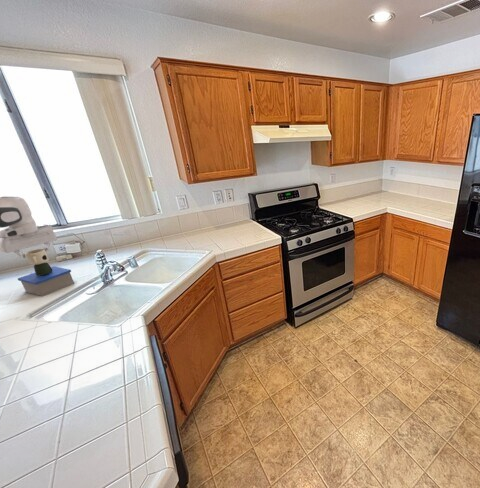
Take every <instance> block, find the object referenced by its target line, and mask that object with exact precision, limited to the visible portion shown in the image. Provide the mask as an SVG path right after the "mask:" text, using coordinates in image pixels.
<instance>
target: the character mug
mask: <svg viewBox="0 0 480 488" xmlns="http://www.w3.org/2000/svg"><path fill="white" fill-rule="evenodd" d="M24 254H25V256H26V257H25V258H26V259H27V261H28V264H29V265H31V266H33V270H34V273H36V275H45V274H49V273H51V272H52V271H53V270H52V268H51V267H52V266H51V265H50V264H49V263H48V262H49V261H50V258H49V256H48V254H47V252H46V251H45V249H43V248H37V249H33V250H32V249H31V250H28V251H26V252H25V253H24Z"/></svg>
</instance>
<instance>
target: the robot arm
mask: <svg viewBox="0 0 480 488" xmlns="http://www.w3.org/2000/svg"><path fill="white" fill-rule="evenodd" d="M2 228H3V229H2ZM0 229H2V230H0V251H1V252H3V253H6V254H7V253H8V254H9V253H13V254H15V255H17V256H19V259H25V258H27V257H26V255H25V253H21V251H22V250H24V249H28V248H33V247H36V246H40V245H43V244H44V247H43V248H42V249H45V251H46V253H47V252H49V251H50V245H51V242H55V241H57V239H58V237H57V235H56V233H55V232H54V228H53V226H52V225H51V224H48V223H47V224H46V223H45V224H41V225H37V223H36V221H35V219H34V218H33V215H32V210H31V209H30V206H29V203H27V201H26V199H24V197H22V196H1V197H0Z"/></svg>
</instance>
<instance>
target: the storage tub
mask: <svg viewBox="0 0 480 488" xmlns="http://www.w3.org/2000/svg"><path fill="white" fill-rule="evenodd" d="M50 267H51V268H52V270H53V271H52V272H51V273H49V274H45V275H36V273H35V272H33V273H29V274H27V275H24V276H21V277H20V276H19V277H18V278H17V281H19V282H20V283H21V285H22V286H23V287H22V288H23V289H24V291H25V292H26V293H28V294H32V295H37V296H40V297H44V296H47V295H48V294H52V293H53V292H57V291H58V290H61V289H63V288H66V287H68V286H71V285H73V284H75V281H74V279H73V276H72V274H71V272H72V270H71V269H69V268H63V267H60V266H59V267H58V266H50Z"/></svg>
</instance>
